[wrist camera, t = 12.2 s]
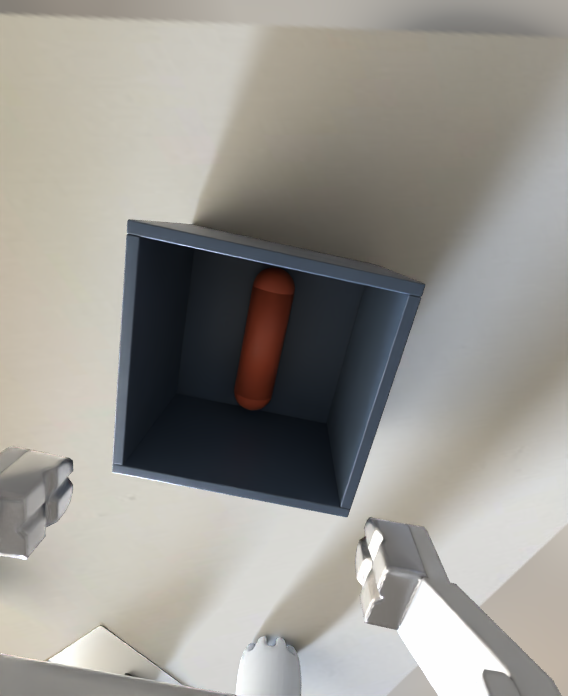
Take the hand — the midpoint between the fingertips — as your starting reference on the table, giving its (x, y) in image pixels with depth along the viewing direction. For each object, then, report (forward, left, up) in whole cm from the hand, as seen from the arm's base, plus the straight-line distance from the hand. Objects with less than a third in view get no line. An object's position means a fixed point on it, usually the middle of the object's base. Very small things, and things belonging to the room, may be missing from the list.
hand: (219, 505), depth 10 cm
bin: (0, 0, -18) cm, 18 cm away
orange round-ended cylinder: (0, 0, -17) cm, 17 cm away
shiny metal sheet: (+49, -13, -18) cm, 54 cm away
